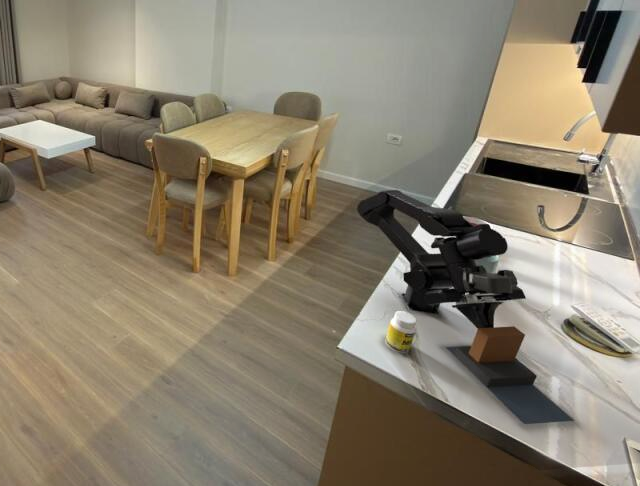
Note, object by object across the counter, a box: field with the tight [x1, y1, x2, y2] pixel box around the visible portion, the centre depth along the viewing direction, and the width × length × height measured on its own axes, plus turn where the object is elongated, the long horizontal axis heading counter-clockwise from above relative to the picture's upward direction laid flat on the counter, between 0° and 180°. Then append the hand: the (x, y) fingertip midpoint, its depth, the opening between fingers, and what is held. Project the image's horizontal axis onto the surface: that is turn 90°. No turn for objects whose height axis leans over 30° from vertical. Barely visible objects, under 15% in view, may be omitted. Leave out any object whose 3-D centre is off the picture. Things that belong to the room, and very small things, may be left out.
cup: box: [475, 255, 500, 273], centre depth 109 cm, size 8×8×10 cm
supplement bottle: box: [384, 310, 417, 354], centre depth 89 cm, size 5×5×8 cm
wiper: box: [453, 325, 538, 388], centre depth 82 cm, size 8×10×9 cm
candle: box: [463, 216, 494, 230], centre depth 131 cm, size 9×9×6 cm
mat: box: [445, 345, 575, 425], centre depth 81 cm, size 18×10×1 cm, turn 3°
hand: (490, 337), depth 84 cm, fingers closed
